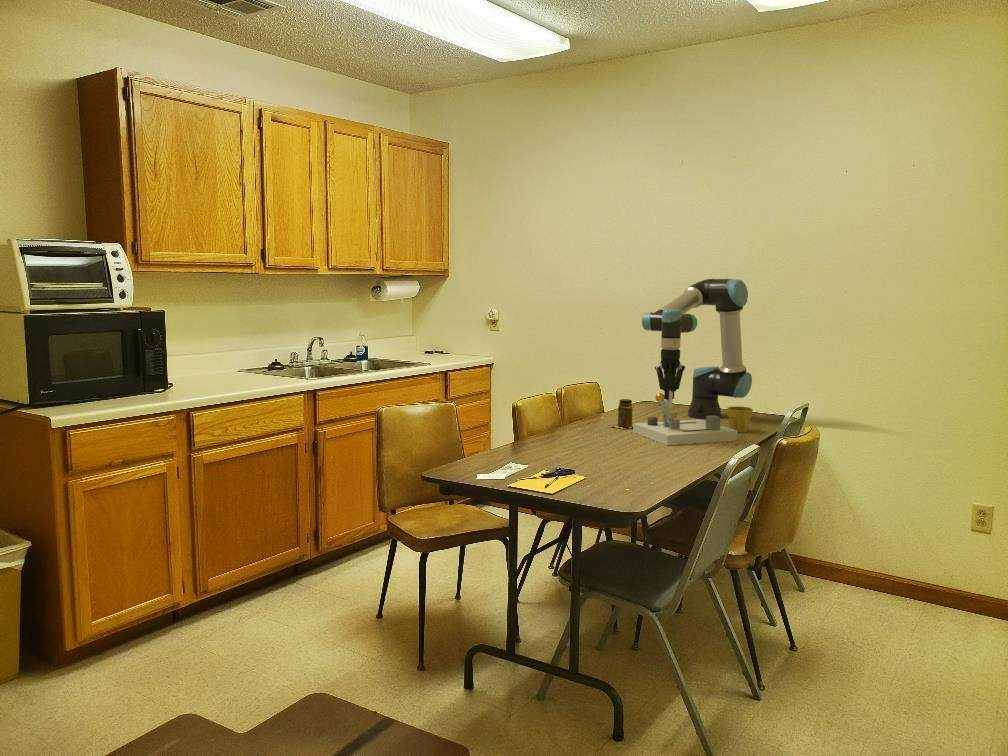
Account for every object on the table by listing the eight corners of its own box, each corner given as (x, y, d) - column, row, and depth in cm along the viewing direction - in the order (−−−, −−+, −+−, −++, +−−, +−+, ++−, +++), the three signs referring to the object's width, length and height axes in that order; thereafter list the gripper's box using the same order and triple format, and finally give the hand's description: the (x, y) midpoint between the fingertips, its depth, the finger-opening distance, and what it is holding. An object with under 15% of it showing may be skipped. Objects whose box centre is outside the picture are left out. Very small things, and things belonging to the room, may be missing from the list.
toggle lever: (672, 421, 313) (659, 390, 309) (677, 422, 309) (664, 392, 306) (665, 425, 312) (652, 395, 308) (670, 427, 309) (657, 396, 305)
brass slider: (671, 422, 321) (671, 410, 321) (676, 424, 317) (677, 412, 317) (663, 423, 320) (663, 411, 319) (668, 424, 316) (668, 412, 315)
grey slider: (714, 427, 311) (714, 415, 310) (720, 429, 307) (720, 417, 306) (705, 428, 309) (706, 415, 309) (711, 430, 306) (712, 417, 305)
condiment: (636, 427, 332) (637, 400, 331) (624, 430, 326) (624, 402, 325) (622, 425, 337) (623, 398, 336) (610, 427, 332) (611, 400, 330)
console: (698, 428, 331) (699, 411, 330) (736, 440, 307) (737, 421, 306) (633, 432, 320) (633, 415, 319) (667, 445, 296) (667, 426, 295)
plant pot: (726, 432, 322) (727, 409, 321) (725, 428, 332) (726, 405, 331) (752, 434, 320) (753, 410, 319) (750, 429, 330) (751, 406, 329)
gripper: (661, 349, 300) (659, 409, 303) (690, 349, 305) (688, 408, 308) (651, 348, 307) (649, 406, 310) (679, 347, 312) (677, 405, 315)
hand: (668, 407), depth 309 cm, fingers closed
